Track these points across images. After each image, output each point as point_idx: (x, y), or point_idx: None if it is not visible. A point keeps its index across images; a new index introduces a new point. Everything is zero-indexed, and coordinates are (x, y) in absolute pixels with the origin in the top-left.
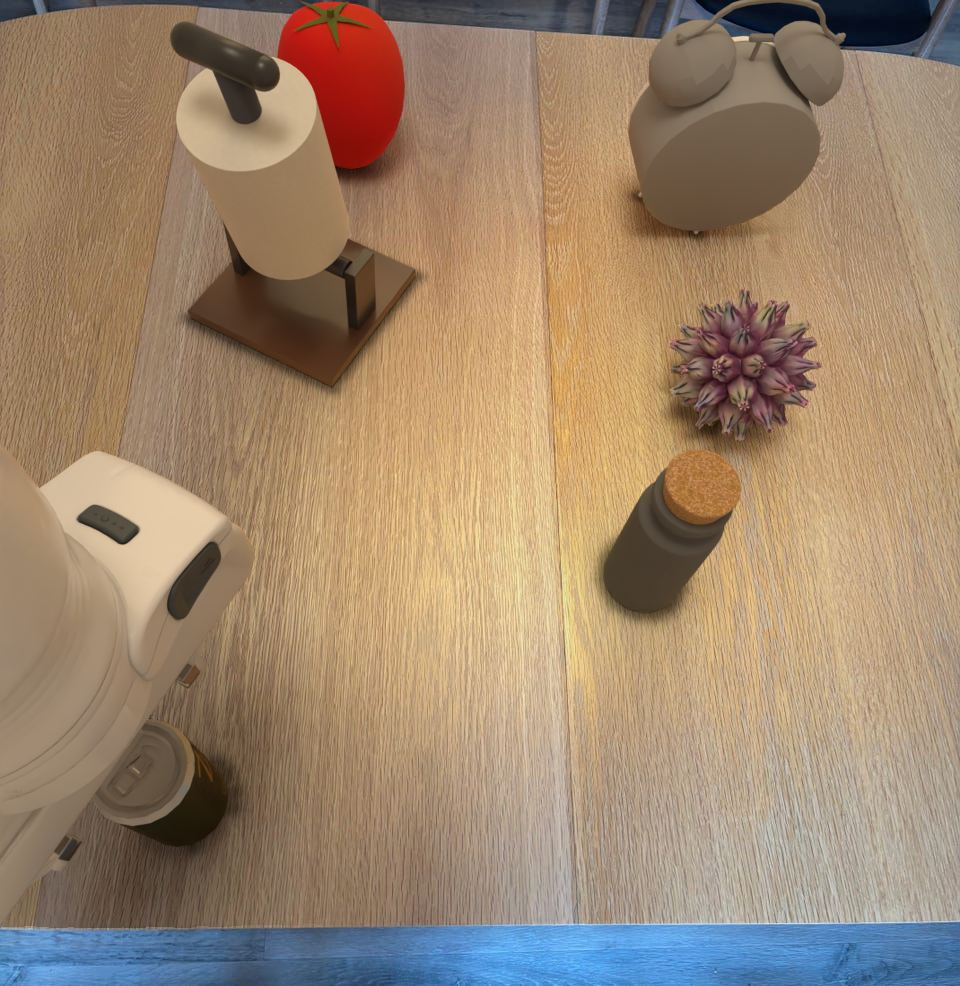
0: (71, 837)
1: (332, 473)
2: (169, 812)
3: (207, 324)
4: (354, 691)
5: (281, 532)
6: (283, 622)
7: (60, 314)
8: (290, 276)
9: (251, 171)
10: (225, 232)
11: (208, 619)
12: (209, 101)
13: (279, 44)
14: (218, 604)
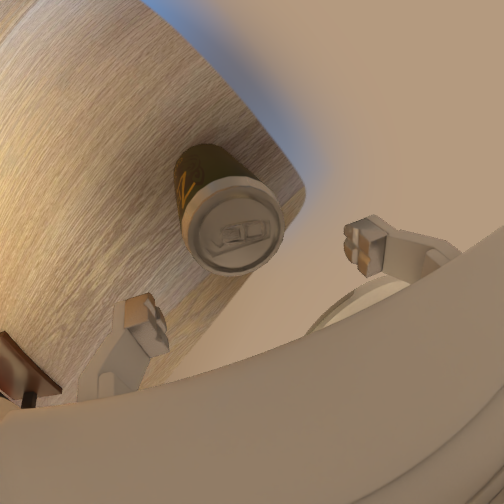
0: (367, 241)
1: (16, 294)
2: (242, 176)
3: (55, 384)
4: (65, 158)
5: (53, 283)
6: (78, 233)
7: None
8: (4, 401)
9: None
10: None
11: (63, 450)
12: None
13: None
14: (42, 452)
